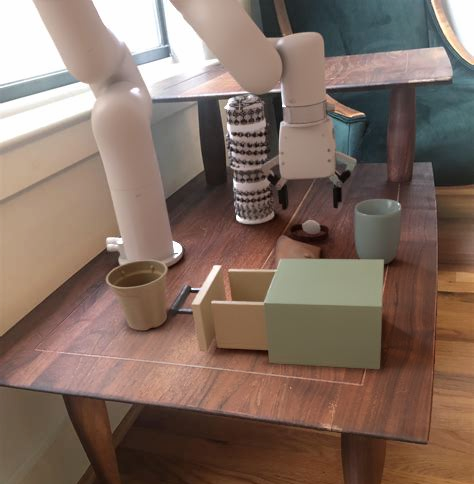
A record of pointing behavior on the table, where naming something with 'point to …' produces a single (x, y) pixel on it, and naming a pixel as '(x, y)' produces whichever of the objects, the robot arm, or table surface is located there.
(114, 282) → the flower pot
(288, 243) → the sunglasses case
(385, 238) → the cup
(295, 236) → the watch
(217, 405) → the table surface
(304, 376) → the table surface
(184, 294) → the drawer
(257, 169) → the decorative candle
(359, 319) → the cabinet
